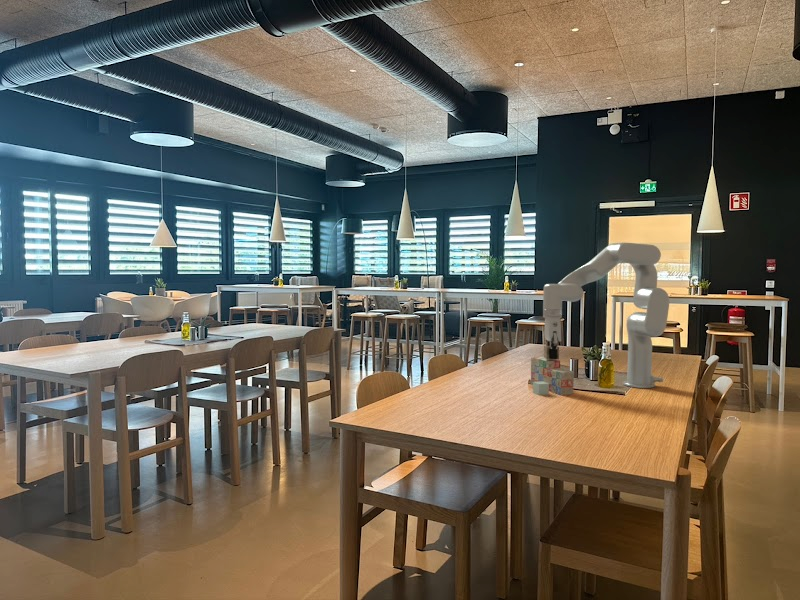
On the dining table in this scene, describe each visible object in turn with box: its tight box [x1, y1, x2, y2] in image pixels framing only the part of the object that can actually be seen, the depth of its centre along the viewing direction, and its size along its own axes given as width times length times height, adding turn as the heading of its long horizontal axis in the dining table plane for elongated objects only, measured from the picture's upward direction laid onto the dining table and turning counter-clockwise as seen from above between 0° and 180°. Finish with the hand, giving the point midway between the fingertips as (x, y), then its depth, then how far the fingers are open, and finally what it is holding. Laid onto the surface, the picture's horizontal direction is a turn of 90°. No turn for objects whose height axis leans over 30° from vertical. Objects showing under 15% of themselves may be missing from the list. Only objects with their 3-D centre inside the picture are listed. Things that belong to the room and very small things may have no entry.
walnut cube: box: [543, 345, 560, 360], centre depth 234 cm, size 5×5×5 cm
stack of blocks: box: [530, 356, 575, 396], centre depth 234 cm, size 21×6×12 cm, turn 20°
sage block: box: [532, 381, 550, 396], centre depth 225 cm, size 4×4×4 cm
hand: (551, 357), depth 234 cm, fingers closed on walnut cube, 4 cm apart
